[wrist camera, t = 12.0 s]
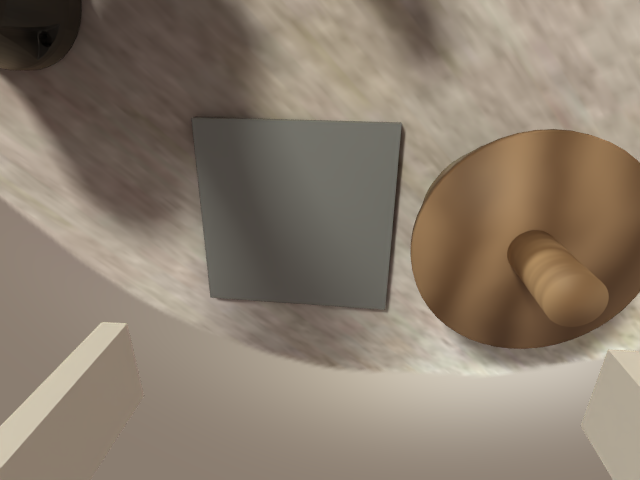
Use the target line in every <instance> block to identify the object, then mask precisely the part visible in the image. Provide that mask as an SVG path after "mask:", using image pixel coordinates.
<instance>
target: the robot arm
mask: <svg viewBox="0 0 640 480" xmlns="http://www.w3.org/2000/svg"><path fill="white" fill-rule="evenodd" d="M80 18H81V0H0V68H3V69H9V70H37V69H42V68H46V67H48V66H51V65H53V64H54V63H56V62H57V61H59V60H60V59H61V58H62V57H63V56H64V55H65V54H66V53H67V52H68V51H69V49H70V48H71V46H72V44H73V43H74V40H75V38H76V36H77V33H78V29H79V25H80ZM143 397H144V393H143V388H142V384H141V380H140V376H139V371H138V368H137V363H136V359H135V354H134V350H133V346H132V342H131V338H130V333H129V329H128V325H127V323H109V322H102V323H101V324H100V325H99V326H98V327H97V328H96V329H95V330H94V331H93V332H92V333H91V334H90V335H89V336H88V337H87V338H86V339H85V340H84V341H83V342H82V343H81V344H80V345H79V346H78V347H77V348H76V349H75V350H74V351H73V352H72V353H71V354H70V355H69V356H68V357H67V359H65V360H64V362H63V363H62V364H61V365H60V366H59V367H58V368H57V369H56V370H55V371H54V372H53V373H52V374H51V375H50V376H49V377H48V378H47V379H46V380H45V381H44V382H43V383H42V384H41V385H40V386H39V387H38V388H37V389H36V390H35V391H34V392H33V393H32V394H31V395H30V396H29V397H28V398H27V400H25V402H24V403H23V404H22V405H21V406H20V407H19V408H18V409H17V410H16V411H15V412H14V413H13V414H12V415H11V416H10V417H9V418H8V419H7V420H6V421H5V422H4V423H3V424H2V425H1V426H0V480H91V479H92V477H93V476H94V474H95V472H96V471H97V469H98V468H99V466H100V465H101V463H102V462H103V460H104V458H105V457H106V455H107V454H108V452H109V450H110V449H111V447H112V446H113V444H114V443H115V441H116V440H117V438H118V436H119V435H120V433H121V432H122V430H123V429H124V427H125V425H126V424H127V422H128V421H129V419H130V418H131V416H132V414H133V413H134V411H135V410H136V408H137V407H138V405H139V403H140V402H141V400H142V399H143ZM581 428H582V429H583V431H584V433H585V434H586V436H587V438H588V439H589V441H590V443H591V444H592V446H593V447H594V449H595V451H596V452H597V454H598V456H599V458H600V459H601V461H602V463H603V464H604V466H605V468H606V469H607V471H608V473H609V474H610V476H611V478H612V479H613V480H640V352H639V351H626V350H608V351H607V354H606V357H605V360H604V362H603V365H602V368H601V371H600V374H599V376H598V379H597V382H596V385H595V388H594V390H593V393H592V396H591V399H590V402H589V404H588V407H587V410H586V413H585V415H584V418H583V421H582V424H581Z"/></svg>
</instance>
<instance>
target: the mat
mask: <svg viewBox="0 0 640 480" xmlns="http://www.w3.org/2000/svg"><path fill="white" fill-rule="evenodd" d="M191 119H192V128H193V138H194V147H195V156H196V166H197V175H198V184H199V194H200V203H201V212H202V222H203V231H204V240H205V250H206V259H207V268H208V278H209V287H210V297H212V298H226V299H240V300H254V301H268V302H282V303H296V304H311V305H325V306H339V307H353V308H367V309H381V310H385V305H386V294H387V283H388V272H389V260H390V249H391V238H392V227H393V215H394V204H395V193H396V182H397V170H398V159H399V148H400V137H401V125H402V124H401V123H398V122H361V121H324V120H287V119H250V118H213V117H193V118H191Z"/></svg>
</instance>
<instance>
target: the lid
mask: <svg viewBox="0 0 640 480" xmlns="http://www.w3.org/2000/svg"><path fill="white" fill-rule="evenodd" d="M411 263H412V270H413V274H414V278H415V281H416V285H417V287H418V290H419V292H420V294H421V296H422V298H423V300H424V301H425V303H426V304H427V306H428V307H429V309H430V310H431V311H432V312H433V313H434V314H435V316H436V317H437V318H438V319H440V320H441V321H442V322H443V323H444V324H445V325H446V326H448V327H449V328H451V329H452V330H454V331H455V332H457V333H459V334H461V335H463V336H465V337H467V338H469V339H471V340H474V341H477V342H480V343H482V344H487V345H491V346H495V347H503V348H517V349H527V348H538V347H545V346H550V345H555V344H559V343H562V342H566V341H569V340H572V339H574V338H577V337H579V336H582V335H584V334H586V333H588V332H590V331H592V330H594V329H596V328H598V327H600V326H601V325H603V324H604V323H606V322H607V321H609V320H610V319H612V318H613V317H614V316H616V315H617V314H618V313H619V312H620V311H622V310H623V309H624V308H625V307H626V306H627V305H628V304H629V303H630V302H631V301H632V300H633V299H634V298H635V297H636V296H637V294H638V293H639V292H640V163H639V162H638V160H636V159H635V158H634V157H633V156H631V155H630V154H629V153H628V152H626V151H625V150H623V149H621V148H620V147H618V146H616V145H614V144H613V143H611V142H608V141H606V140H603V139H600V138H598V137H595V136H592V135H588V134H584V133H580V132H575V131H569V130H557V129H548V130H533V131H528V132H522V133H517V134H513V135H510V136H507V137H503V138H500V139H498V140H495V141H493V142H491V143H489V144H486V145H484V146H482V147H480V148H479V149H477V150H475V151H473V152H472V153H470V154H468V155H467V156H466V157H464V158H463V159H462V160H460V161H459V162H458V163H456V164H455V165H454V166H453V167H452V168H451V169H450V170H448V171H447V172H446V173H445V174H444V175H443V176H442V177H441V179H440V180H439V181H438V182H437V183H436V185H435V186H434V187H433V188H432V190H431V191H430V193H429V194H428V196H427V197H426V199H425V201H424V202H423V204H422V207H421V209H420V211H419V213H418V215H417V218H416V221H415V224H414V228H413V233H412V239H411Z"/></svg>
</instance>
